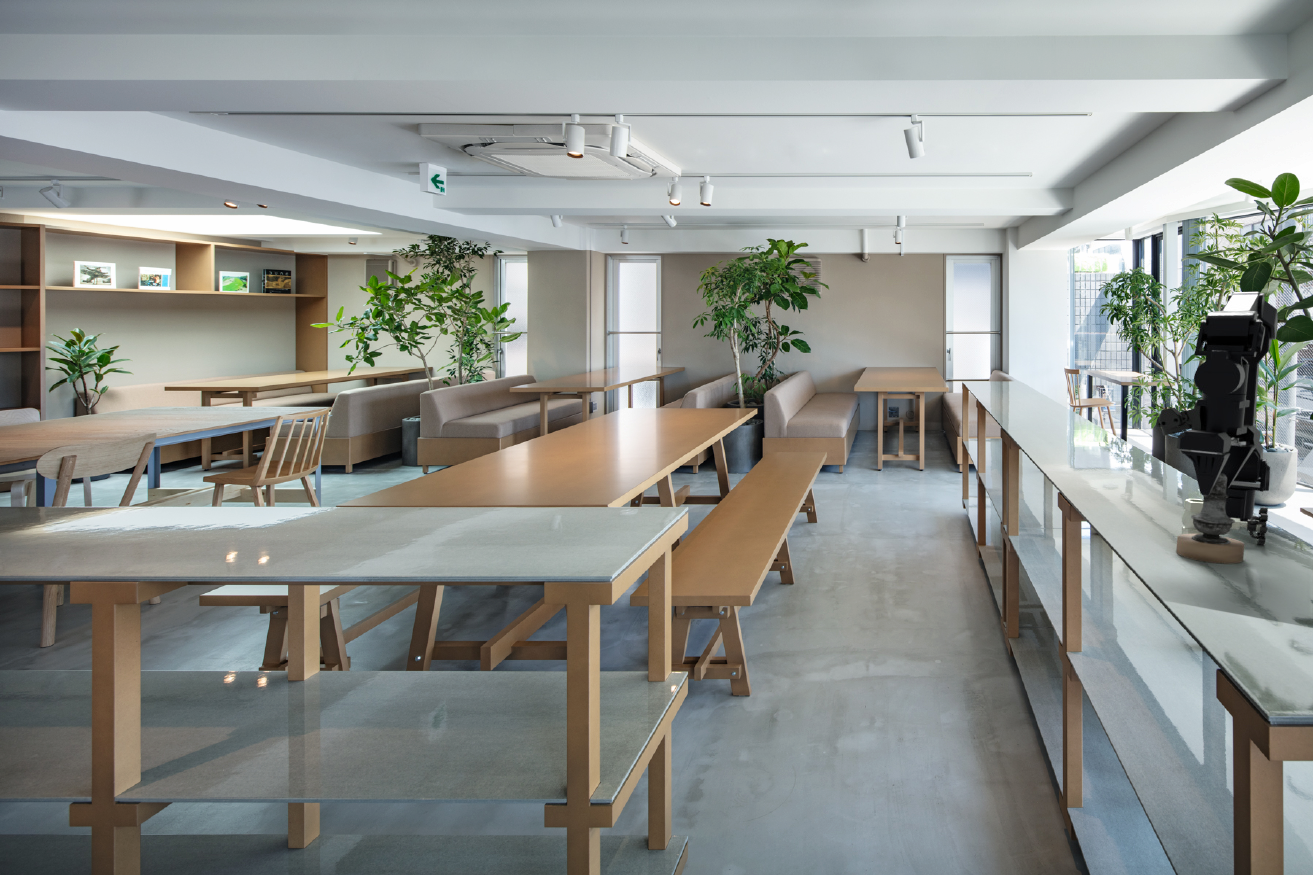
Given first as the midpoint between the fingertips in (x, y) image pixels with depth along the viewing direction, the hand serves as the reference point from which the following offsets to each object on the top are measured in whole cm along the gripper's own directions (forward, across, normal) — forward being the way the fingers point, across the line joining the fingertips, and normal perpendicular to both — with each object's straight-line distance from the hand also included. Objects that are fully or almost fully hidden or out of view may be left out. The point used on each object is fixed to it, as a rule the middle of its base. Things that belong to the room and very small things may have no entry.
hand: (1214, 491), depth 133 cm
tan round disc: (+10, 0, 0) cm, 11 cm away
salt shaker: (+8, 0, 0) cm, 8 cm away
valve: (+11, -13, -2) cm, 17 cm away
